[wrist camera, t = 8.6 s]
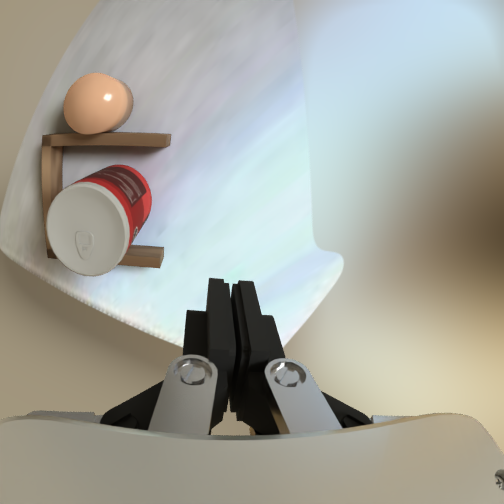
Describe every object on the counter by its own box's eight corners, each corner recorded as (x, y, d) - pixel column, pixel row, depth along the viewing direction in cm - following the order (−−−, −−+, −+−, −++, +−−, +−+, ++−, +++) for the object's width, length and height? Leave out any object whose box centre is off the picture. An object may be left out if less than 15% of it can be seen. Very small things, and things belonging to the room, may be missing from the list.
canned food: (98, 236, 33) (60, 281, 23) (84, 170, 30) (35, 193, 20) (159, 227, 34) (137, 272, 24) (147, 157, 31) (117, 174, 21)
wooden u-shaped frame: (54, 133, 28) (42, 135, 25) (171, 134, 30) (166, 135, 27) (58, 247, 33) (47, 257, 30) (163, 256, 35) (159, 268, 33)
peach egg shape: (86, 80, 26) (67, 75, 22) (136, 78, 27) (123, 71, 23) (81, 132, 28) (61, 135, 24) (130, 132, 29) (116, 134, 25)
